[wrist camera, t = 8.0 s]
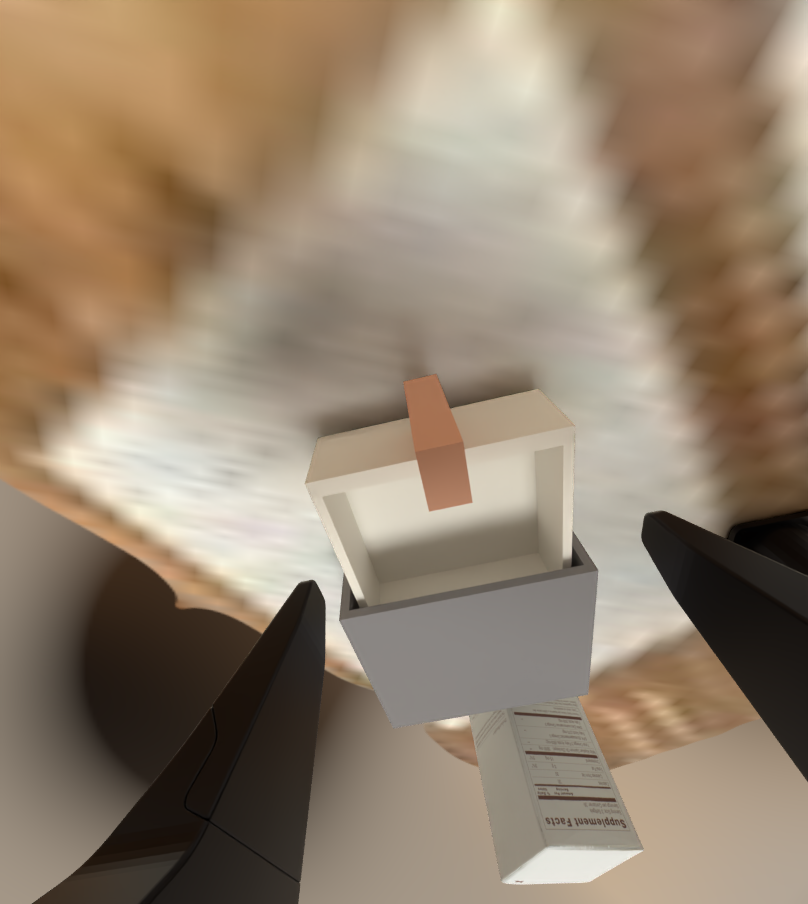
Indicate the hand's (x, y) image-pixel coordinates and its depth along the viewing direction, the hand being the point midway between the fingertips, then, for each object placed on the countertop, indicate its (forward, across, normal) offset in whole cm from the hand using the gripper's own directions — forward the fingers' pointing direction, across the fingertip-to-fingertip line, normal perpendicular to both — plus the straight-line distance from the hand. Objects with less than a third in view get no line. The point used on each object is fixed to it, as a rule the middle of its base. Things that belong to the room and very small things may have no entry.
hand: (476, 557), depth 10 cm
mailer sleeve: (+12, 0, +16) cm, 20 cm away
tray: (+11, 0, +6) cm, 13 cm away
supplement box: (+12, -3, +30) cm, 33 cm away
